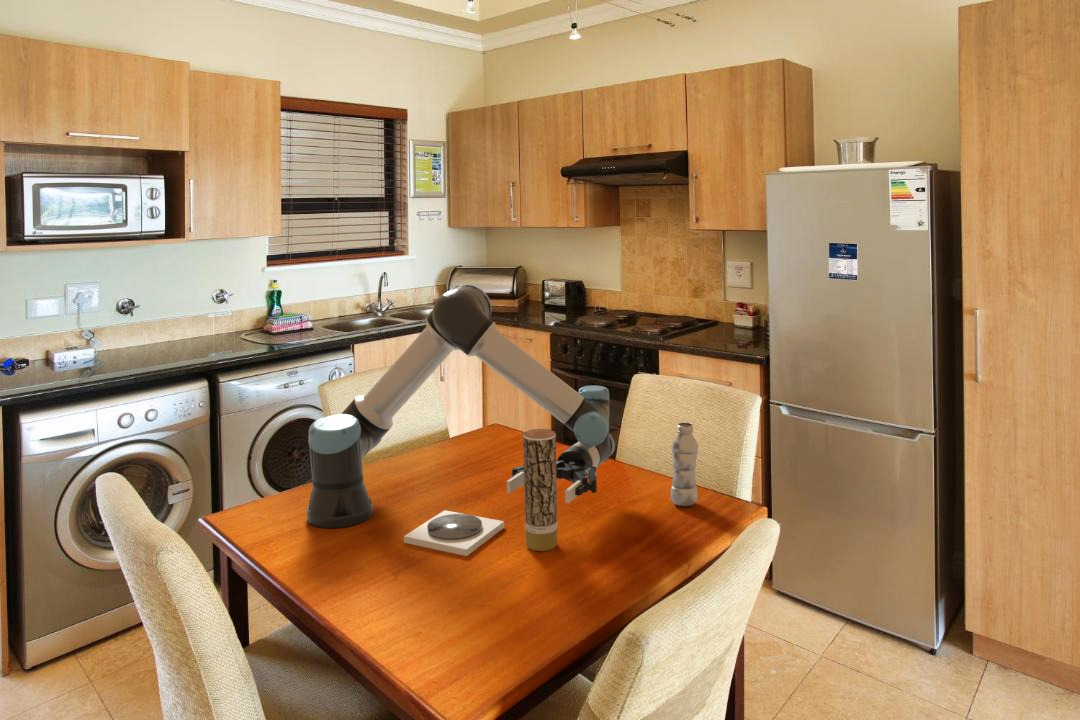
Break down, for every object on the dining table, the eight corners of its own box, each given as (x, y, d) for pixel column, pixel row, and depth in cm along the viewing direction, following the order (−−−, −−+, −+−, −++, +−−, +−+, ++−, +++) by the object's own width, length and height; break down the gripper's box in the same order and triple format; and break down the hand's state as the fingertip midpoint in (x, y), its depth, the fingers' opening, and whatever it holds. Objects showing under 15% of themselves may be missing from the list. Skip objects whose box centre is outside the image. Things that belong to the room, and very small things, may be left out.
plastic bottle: (700, 501, 186) (702, 422, 182) (693, 511, 180) (695, 429, 176) (674, 497, 189) (675, 419, 185) (666, 507, 183) (668, 426, 179)
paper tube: (554, 553, 159) (552, 438, 155) (522, 551, 161) (519, 437, 156) (559, 540, 166) (558, 429, 161) (529, 538, 167) (526, 428, 162)
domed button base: (404, 542, 166) (403, 531, 166) (445, 516, 180) (444, 506, 180) (466, 556, 159) (466, 545, 158) (504, 527, 173) (503, 517, 172)
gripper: (628, 484, 173) (592, 518, 154) (530, 469, 184) (485, 500, 165) (628, 452, 171) (592, 483, 153) (529, 440, 182) (484, 466, 164)
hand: (537, 492), depth 159 cm, fingers open, 13 cm apart
